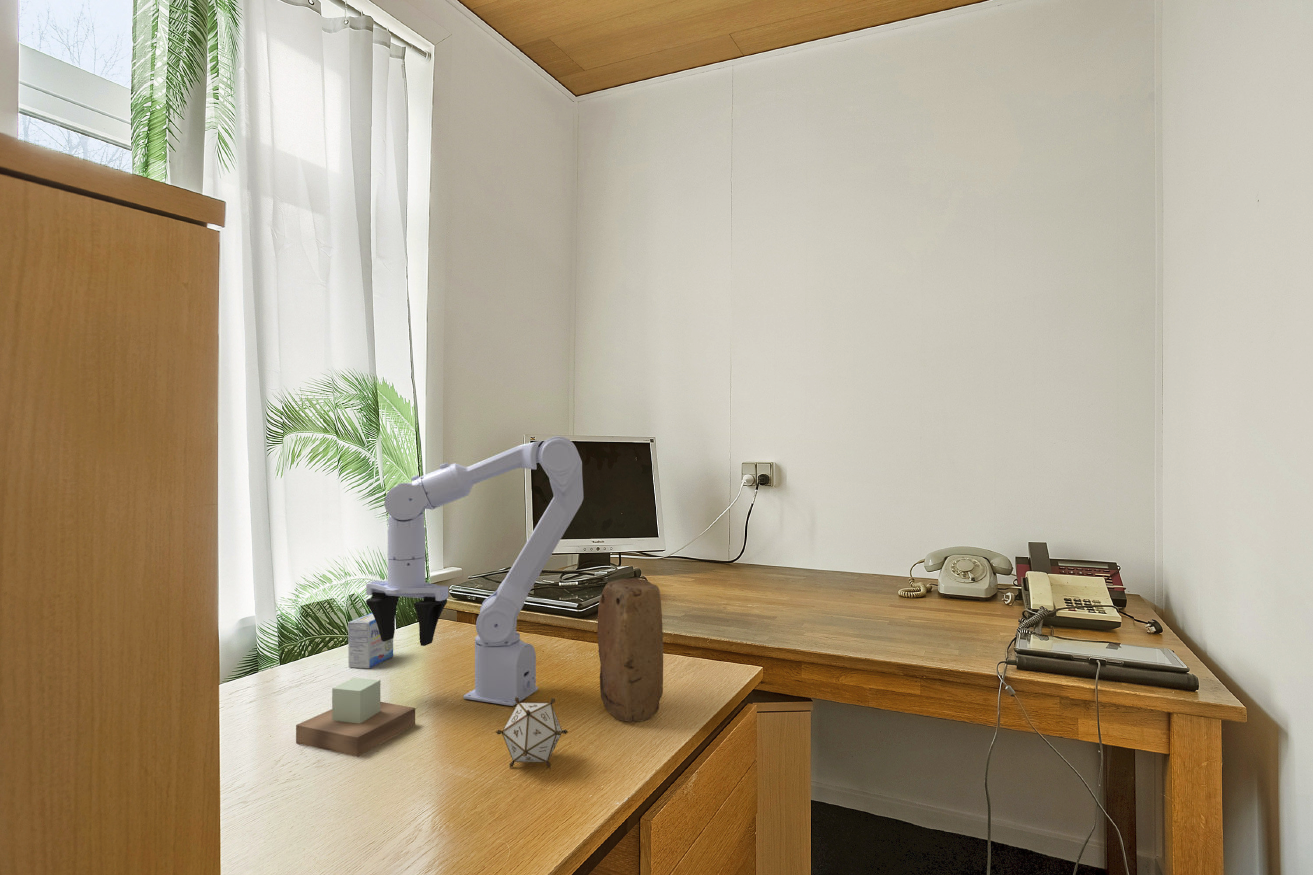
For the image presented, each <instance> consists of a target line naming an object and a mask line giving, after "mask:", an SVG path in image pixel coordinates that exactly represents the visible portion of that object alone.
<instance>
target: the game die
mask: <svg viewBox="0 0 1313 875" xmlns="http://www.w3.org/2000/svg"><path fill="white" fill-rule="evenodd" d="M515 701H516V703H517V704H515V707H514V709H513V710H512V712H511V714H510V716H509V718H508V719H507V721H506V723H505V725H504V726H503V729H502V730H501V729H497V730H496V731H495V732H494V733H495V734H497V735H502V738H503V740H504V742H505V745H506V748H507V749H508V752H509V754H510V757H511V761H510V763H509V769H510V768H512V767H514V766H515V763H546V767H547V768H549V769H550V770H551V767H552V764H551V762H550V761H549V760H550V759H551V757H552V755H553V753H554V751H555V749H556V747H557V744H558V742H559V741H560V738H561V737H562V735H566V734H567V733H569V731H568V730H567V729H562V726H561V724H560V721H559V719H558V716H557V714H556V711H555V708H554V705H553V704H554V703H555V702H556V697H552V698H551V699H550V702H533V701H532V702H526V701H520V702H519V698H517V697H515Z"/></svg>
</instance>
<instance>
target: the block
mask: <svg viewBox="0 0 1313 875" xmlns="http://www.w3.org/2000/svg"><path fill="white" fill-rule="evenodd" d="M661 598H662V597H661V592H660V588H659V586H658V585H657V584H654V583H651V582H650V581H649V580H647V579H643V578H636V577H632V578H621V579H617V580H611V581H609V582H607V583H606V584H605V586H604V587H603V590H602V592H601V595H600V598H599V600H598V601H599V602H598V608H597V623H596V624H597V625H596V626H597V627H596V628H597V633H596V634H597V646H598V647H597V648H598V649H597V650H598V658H599V662H600V666H599V667H600V671H599V692H600V698H601V701H602V703H603V705H604V708H605V710H606V711H607V712H609V713H610V715H611V716H612V717H614V718H615V719H617V720H620V721H623V722H628V723H631V722H642V721H646V720H649V719H651V718H652V717H653V716H654V715H655V714H657V713H658V712H659V710H660V701H661V699H662V696H663V695H664V694H663V692H664V687H663V686H664V634H663V632H664V631H663V613H662V600H661ZM641 720H642V721H641Z"/></svg>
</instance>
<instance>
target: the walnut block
mask: <svg viewBox="0 0 1313 875" xmlns="http://www.w3.org/2000/svg"><path fill="white" fill-rule="evenodd" d="M414 726H416V707H413V706H406V705H400V704H395V703H390V702H383V701H380V712H378V713H376V714H375V715H373V716H372V717H370V718H368V719H367V720H365V721H363V722H362V723H351V722H342V721H333V720H332V708H331V709H329V710H327V711H324V712H322V713H320V714H317V715H316V716H312V717H311V718H309V719H306V720H305V721H302V722H300V723H297V724H296V725H295V744H298V745H302V746H305V747H306V746H307V747H311V748H315V749H320V750H325V751H329V752H330V751H331V752H335V753H338V754H343V755H348V756H352V757H359V756H362V755H363V754H364V753H366V752H368V751H370V750H372V749H374V748H375V747H377V746H378V747H379V745H382V744H383V743H385V742H386V741H388V740H390V739H392V738H394V737H396V736H397V735H400V734H401V733H403V732H404V731H406V730H409V729H410V728H412V727H414Z"/></svg>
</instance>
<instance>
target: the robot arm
mask: <svg viewBox="0 0 1313 875" xmlns="http://www.w3.org/2000/svg"><path fill="white" fill-rule="evenodd" d="M539 445H540V446H539ZM538 463H539V465H540V466H541V467H542V469H543V471H544V472H545V474H546V475H547V477H548V479H549V483H550V488H551V491H552V494H553V497H552V499H551V500H550V502H549V504H548V506H547V507H546V508H545V511H544V512H543V514H542V516H541V517H540V519H539V520H538V523H537V524H536V525H535V527H534V529H533V531H532V532H531V534H530V536H529V537H528V539H527V541H526V543H525V544H524V546H523V547H522V549H521V550H520V552H519V554H518V556H517V558H516V559H515V561H514V562H513V564H512V567H510V570H509V571H508V572H507V574H506V576H505V578H504V579H503V580H502V582H501V583H500V584H499V586H498V588H497V589H496V590H495V591H494V592H493V593H492V594H491V595H489V596H488V597H486V598H485V599H484V600H483V601H482V603H481V605H480V609H479V614H478V616H477V618H476V622H475V629H476V634H477V635H476V636H475V638H474V689H473V690H471V691H468V692H467V693H465V694H463V699H465V700H471V701H477V702H484V703H490V704H497V705H504V706H508V707H509V706H510V707H511V706H512V707H514V706H516V705H517V703H516V701H515V697H517V698H519V702H522V701H524V699H526V698H527V697H529V696H531V695H532V694H533V693H535V692H537V691H538V690H539V687H538V686H537V683H536V682H537V677H536V676H537V671H536V670H537V669H536V668H537V662H536V661H537V660H536V659H537V657H536V656H537V655H536V654H537V653H536V650H535V647H534V646H533V644H531V643H528V642H525V641H524V640H522V639H521V635H520V633H519V632H518V631H517V622H518V617H519V614H520V612H521V610H522V609H523V608H524V605H525V602H526V600H527V598H528V595H529V593H530V591H531V590H532V588H533V587H534V585H535V583H536V581H537V579H538V578H539V577H540V574H541V573H542V571H543V569H544V567H546V565H547V563H548V561H549V559H550V558H551V556H552V554H553V553H554V551H555V550H556V548H557V546H558V544H559V542H560V541H561V539H562V538H563V536H564V534H565V533H566V530H567V529H568V528H569V526H570V524H571V522H572V521H573V519H574V517H575V516H576V514H577V512H578V511H579V509H580V507H581V506H582V503H583V501H584V483H583V481H584V480H583V461H582V458H581V456H580V454H579V451H578V449H577V447H576V445H575V444H574V442H573V441H571V439H568V438H567V437H566V436H565V437H564V436H558V435H557V436H553V437H549V438H547V439H546V440H544V441H543V440H537V441H533V442H528V443H523V444H519V445H516V446H514V447H512V448H510V449H507V450H504V451H502V452H500V453H498V454H496V455H493V456H490V457H489V458H486V459H483V460H482V461H479V462H476V463H474V464H472V465H468V466H464V465H461V464H459V463H456V462H454V463H451V464H449V462H445V463H442V464H439V469H436V470H433V471H432V472H429V473H426V474H422V475H421V476H419V474H416V475H413V476H411V477H410V479H411V482H400V483H397V485H395V486H393V487H392V488H390V490H389V491H388V492H387V493H386V495H385V498H384V509H385V510H386V512H387V514H388V518H387V520H388V521H387V523H388V529H387V580H373V581H370V582H366V589H365V590H366V591H365V592H366V594H365V595H366V596H370V598H367V599H366V601H365V604H366V606H367V607H368V609H369V611H371V612H370V613H372V614H373V616H374V618H375V620H376V623H377V626H378V629H379V633H380V636H381V640H382V641H384V642H385V641H388V640H390V639H393V640H394V639H395V638H394V637H395V631H396V629H395V628H396V613H397V612H396V611H397V607H398V603H399V599H400V597H402V598H416V599H423V600H419V601H417V602H414V603H413V606H414V609H415V611H416V615H417V621H418V632H419V636H418V637H419V643H420V647H425V646H428V645H430V644H432V643H433V641H434V636H435V633H436V628H437V625H438V622H439V619H440V617H441V615H442V613H443V610H444V609H445V607H446V605H447V603H448V599H449V586H448V585H439V584H435V583H431V582H426V527H425V513H424V511H426V509H427V510H432V511H433V510H435V509H438V508H440V507H442V506H445V505H447V504H450V503H453V502H455V501H457V500H459V499H462V498H464V497H467V496H469V495H470V494H471V491H472V489H473V486H474V485H476V484H478V483H481V482H484V481H487V480H490V479H492V478H494V477H497V476H500V475H503V474H505V473H509V472H511V471H513V470H517V469H526V470H527V469H528V470H537V466H538V465H537V464H538Z"/></svg>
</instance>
